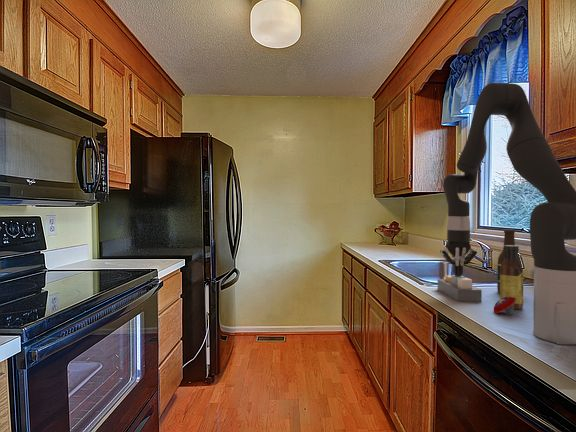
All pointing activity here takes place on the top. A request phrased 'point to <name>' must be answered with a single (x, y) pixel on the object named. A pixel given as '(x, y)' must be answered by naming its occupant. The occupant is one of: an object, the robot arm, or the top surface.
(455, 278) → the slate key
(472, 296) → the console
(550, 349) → the top surface
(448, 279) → the ochre key
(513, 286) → the sauce bottle
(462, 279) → the ivory key
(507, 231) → the beer bottle
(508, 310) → the button
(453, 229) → the robot arm
